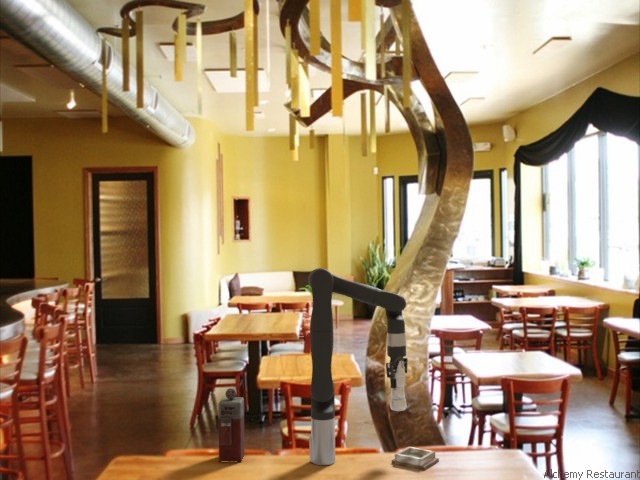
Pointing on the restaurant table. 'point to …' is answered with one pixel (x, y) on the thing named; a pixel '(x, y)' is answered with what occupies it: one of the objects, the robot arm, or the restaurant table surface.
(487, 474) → the restaurant table surface
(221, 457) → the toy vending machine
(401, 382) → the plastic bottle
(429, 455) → the socket board
